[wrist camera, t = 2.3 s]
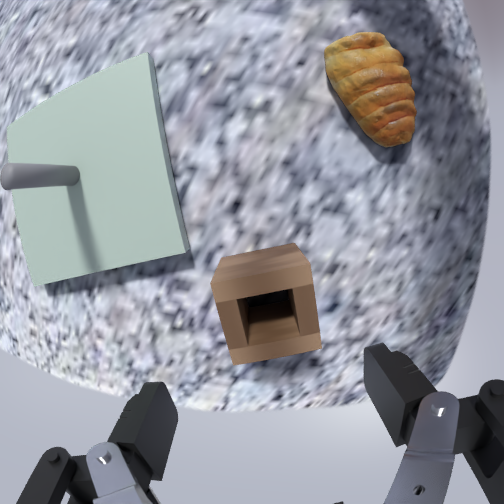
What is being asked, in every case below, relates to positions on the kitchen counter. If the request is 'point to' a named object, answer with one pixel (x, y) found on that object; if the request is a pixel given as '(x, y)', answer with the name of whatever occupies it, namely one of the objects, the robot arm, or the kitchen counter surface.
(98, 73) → the green peg base
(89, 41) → the kitchen counter surface
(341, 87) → the pastry
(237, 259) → the hollow wooden cube
